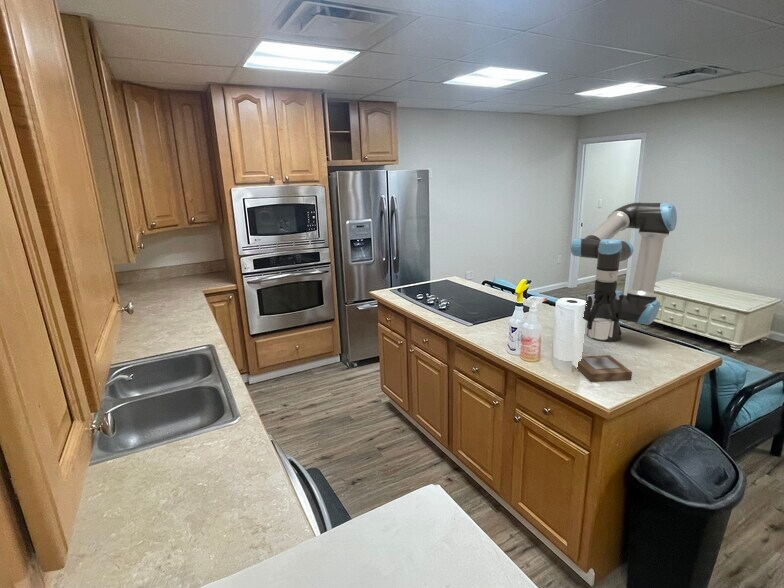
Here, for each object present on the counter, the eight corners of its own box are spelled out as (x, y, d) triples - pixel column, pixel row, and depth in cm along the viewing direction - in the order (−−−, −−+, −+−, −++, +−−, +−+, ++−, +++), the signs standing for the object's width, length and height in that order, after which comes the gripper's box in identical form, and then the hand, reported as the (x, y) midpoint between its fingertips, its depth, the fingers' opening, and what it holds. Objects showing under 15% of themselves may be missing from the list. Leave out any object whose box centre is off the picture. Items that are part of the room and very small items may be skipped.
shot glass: (593, 332, 172) (594, 316, 170) (611, 336, 167) (613, 319, 165) (588, 337, 167) (589, 321, 165) (606, 341, 162) (608, 324, 160)
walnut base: (608, 362, 178) (609, 353, 177) (631, 380, 163) (632, 370, 162) (571, 364, 177) (572, 355, 176) (590, 382, 162) (591, 372, 161)
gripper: (585, 283, 157) (579, 340, 163) (637, 281, 157) (629, 338, 164) (576, 278, 164) (571, 333, 170) (626, 277, 165) (619, 332, 171)
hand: (599, 336), depth 167 cm, fingers closed on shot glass, 7 cm apart
